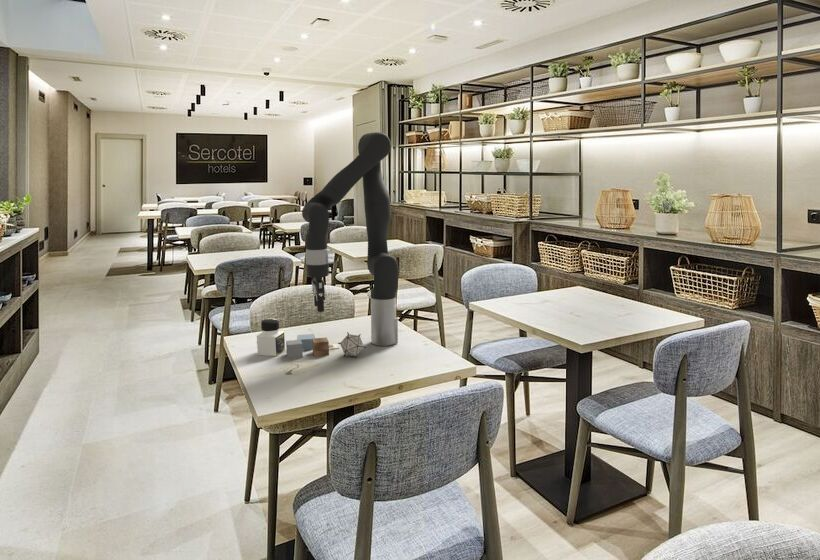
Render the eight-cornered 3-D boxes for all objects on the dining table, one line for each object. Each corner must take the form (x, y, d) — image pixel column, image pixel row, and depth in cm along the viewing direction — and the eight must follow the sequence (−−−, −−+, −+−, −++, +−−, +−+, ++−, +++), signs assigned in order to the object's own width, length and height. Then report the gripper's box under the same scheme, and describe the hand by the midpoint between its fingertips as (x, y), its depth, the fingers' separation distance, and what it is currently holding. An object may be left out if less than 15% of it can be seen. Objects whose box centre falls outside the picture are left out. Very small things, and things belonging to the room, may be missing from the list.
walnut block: (327, 350, 200) (326, 337, 199) (329, 355, 195) (328, 341, 194) (312, 352, 199) (312, 338, 198) (314, 356, 194) (313, 342, 193)
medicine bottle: (276, 356, 194) (275, 323, 191) (257, 355, 195) (255, 321, 193) (285, 350, 201) (283, 317, 198) (266, 349, 202) (264, 316, 200)
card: (337, 344, 207) (337, 343, 207) (339, 348, 202) (339, 347, 202) (320, 346, 205) (320, 345, 205) (322, 349, 201) (322, 348, 201)
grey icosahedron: (357, 365, 196) (375, 343, 195) (345, 364, 188) (363, 340, 187) (341, 349, 200) (358, 327, 199) (328, 347, 192) (346, 324, 191)
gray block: (301, 353, 198) (300, 339, 197) (302, 357, 193) (302, 343, 192) (286, 354, 196) (286, 340, 195) (287, 359, 192) (287, 345, 191)
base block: (314, 344, 208) (314, 333, 207) (315, 349, 202) (315, 338, 202) (297, 345, 207) (297, 335, 206) (298, 350, 201) (298, 339, 200)
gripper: (331, 264, 185) (333, 312, 188) (325, 258, 199) (327, 303, 202) (308, 266, 183) (310, 314, 186) (304, 259, 197) (306, 304, 200)
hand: (319, 308), depth 194 cm, fingers open, 8 cm apart
